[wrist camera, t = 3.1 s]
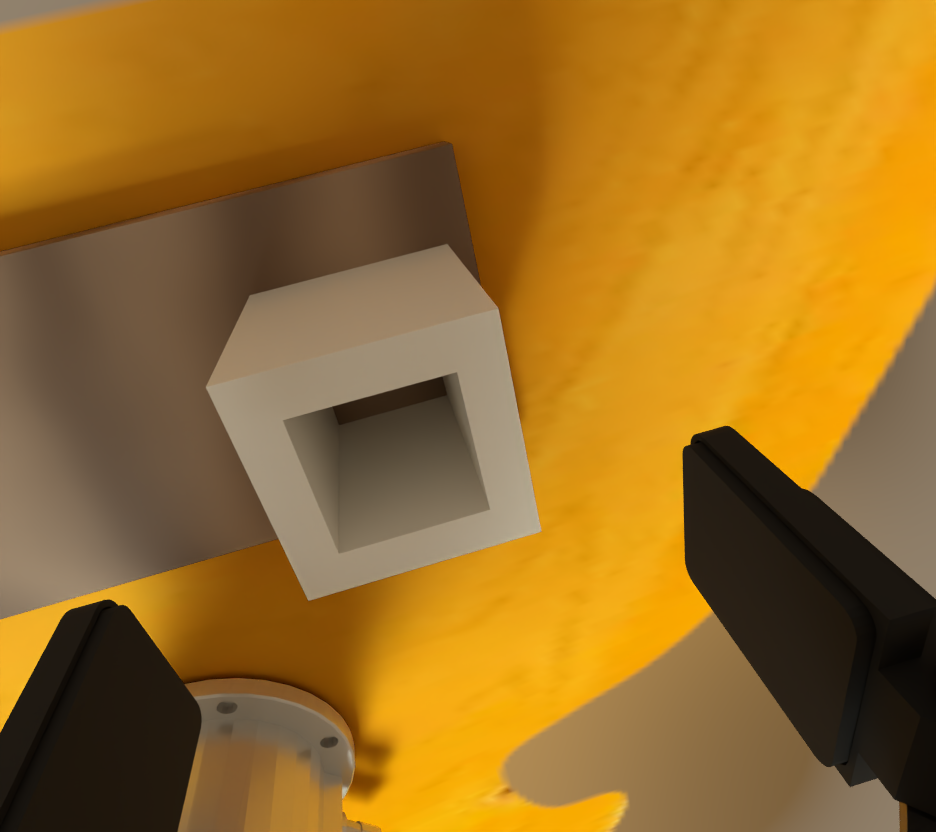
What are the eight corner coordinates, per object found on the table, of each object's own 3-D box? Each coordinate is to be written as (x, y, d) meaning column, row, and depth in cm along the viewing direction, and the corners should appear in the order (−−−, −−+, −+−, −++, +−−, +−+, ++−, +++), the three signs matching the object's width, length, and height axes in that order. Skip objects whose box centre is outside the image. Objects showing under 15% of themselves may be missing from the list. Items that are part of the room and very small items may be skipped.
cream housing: (447, 243, 19) (498, 307, 13) (485, 414, 22) (541, 531, 16) (249, 295, 19) (205, 387, 12) (317, 461, 22) (308, 601, 16)
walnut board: (444, 141, 19) (452, 143, 18) (508, 450, 25) (518, 469, 23) (-421, 356, 17) (-483, 376, 16) (-132, 634, 23) (-161, 665, 22)
